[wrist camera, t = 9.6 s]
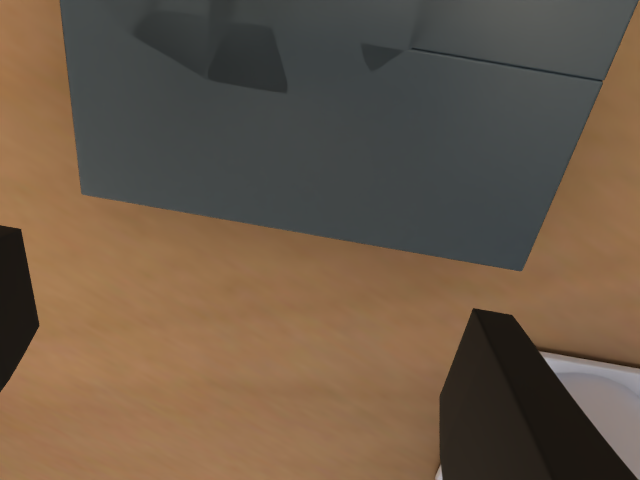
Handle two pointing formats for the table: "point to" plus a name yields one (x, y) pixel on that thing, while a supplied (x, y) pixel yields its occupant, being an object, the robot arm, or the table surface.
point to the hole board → (342, 113)
